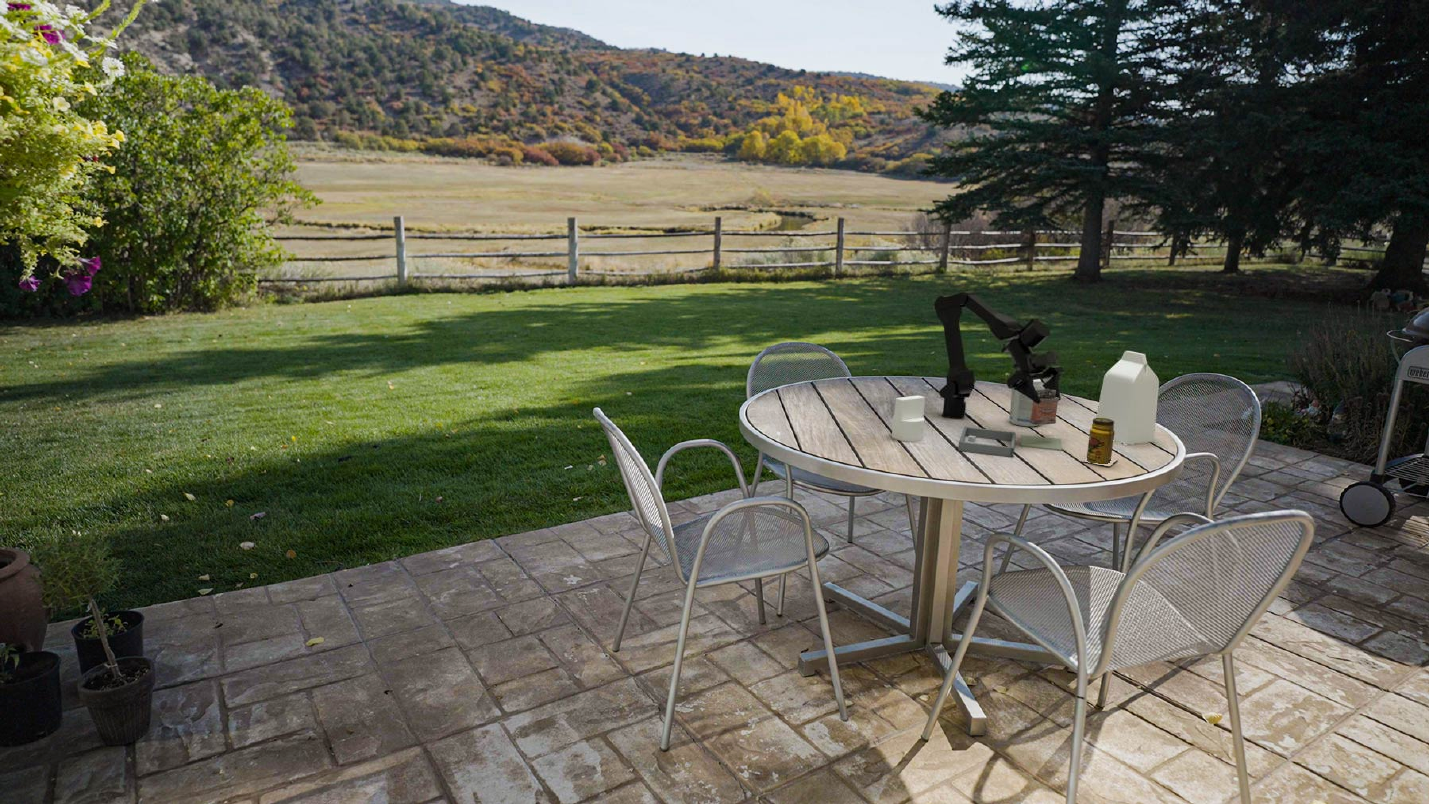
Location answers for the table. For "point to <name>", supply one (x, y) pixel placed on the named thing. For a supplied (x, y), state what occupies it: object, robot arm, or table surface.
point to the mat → (1041, 442)
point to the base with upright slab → (909, 418)
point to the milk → (1130, 399)
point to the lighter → (1045, 408)
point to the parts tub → (984, 447)
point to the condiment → (1101, 441)
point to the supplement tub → (1023, 406)
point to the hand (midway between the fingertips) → (1049, 401)
